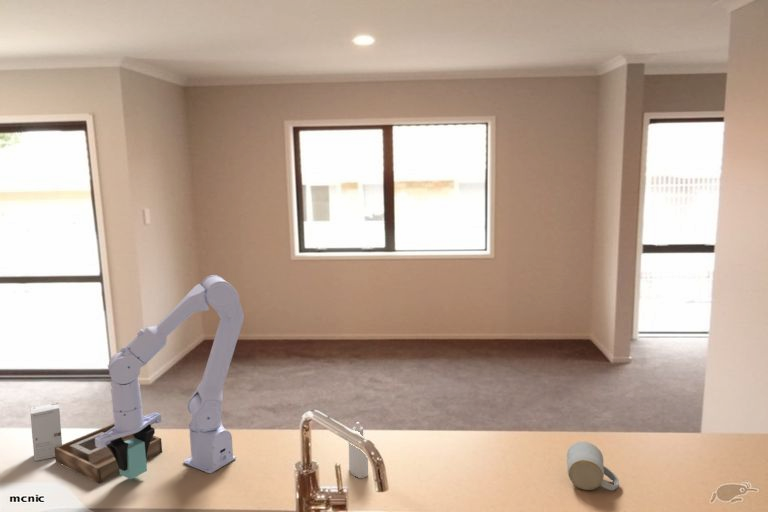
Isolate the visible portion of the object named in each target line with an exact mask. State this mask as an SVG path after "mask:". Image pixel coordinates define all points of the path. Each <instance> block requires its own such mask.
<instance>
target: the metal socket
mask: <svg viewBox="0 0 768 512" xmlns="http://www.w3.org/2000/svg"><path fill="white" fill-rule="evenodd" d="M102 434H104V433H103V432H101V433H99V434H96V435H94V436H91V437H89V438H87V439H84V440H82V441H79V442H77V443H75V444H72V445H70V453H71V454H73V455H75V456H77V457H79V458H81V459H84V460H86V461H88V462H90V463H92V464H96V463H98V462H100V461H103V460H105V459H107V458H109V457H111V456H113V454H112V452H111V451H110V449H109V448H108V447H107V446H106V445H105V447H104V448H102V449H100V448H97V447H96V446H95V438H97V437H99V436H101V435H102Z"/></svg>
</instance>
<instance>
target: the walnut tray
mask: <svg viewBox="0 0 768 512" xmlns="http://www.w3.org/2000/svg"><path fill="white" fill-rule="evenodd" d="M114 426H115V425H114V423H112V424H109V425H106V426H105V427H102V428H99V429H98V430H95V431H92V432H89V433H86V434H85V435H82V436H80V437H78V438H75V439H73V440H70V441H68V442H66V443H64V444H63V443H62V445H60V446H58V447H56V448H54V449H55V463H57V462H58V464H59V463H60V465H61V464H63V465H64V466H63V465H62V466H63V467H65V466H66V468H67V467H68V468H67V469H69V468H70V470H71V469H72V472H73V471H74V472H76V473H78V474H80V475H81V476H83V477H86V478H87V479H90V480H91V481H94V482H95V483H97V484H101V483H103V482H104V481H105V482H106V481H107V480H109V479H110V478H113V477H114V476H117V475H120V471H119V467H118V464H117V461H116V459H115V457H114V455H113V456H111V457H109V458H107V459H105V460H103V461H100V462H98V463H96V464H92V463H90V462H88V461H86V460H84V459H81V458H79V457H77V456H75V455H73V454H71V453H70V445H72V444H75V443H77V442H79V441H82V440H84V439H87V438H89V437H91V436H94V435H96V434H99V433H101V432H103V433H105V432H107V431H108V430H110V429H111V428H113V427H114ZM133 437H134V435H133V434H131V435H127V436H125V437H123V438H122V440H124V442H125V441H127V440H129V439H131V438H133ZM162 442H163V441H162V438H160V437H159V436H156V435H153V437H152V439H151V441H150V444H149V447H148V452H147V457H146V461H147V460H149V459H151V458H153V457H155V456H156V455H160V454H161V453H163V446H162V445H163V443H162Z"/></svg>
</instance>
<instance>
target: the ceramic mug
mask: <svg viewBox="0 0 768 512" xmlns="http://www.w3.org/2000/svg"><path fill="white" fill-rule="evenodd" d="M566 465H567V475H568V477H569V480H570V482H571V483H572V484H573V485H574V486H575V487H576V488H578V489H580V490H583V491H593V490H596V489H597V488H599V487H602V488H603V489H605V490H608V491H612V490H613V491H616V490H617V488H618V487H619V485H620V481H619V478H618V477H617V475H616V474H615V473H614V472H612V470H611V469H609V468H608V467H606V466H604V456H603V453H602V451H601V450H600V448H598V447H597V445H595V444H593V443H590V442H588V441H577V442H575V443H573V444H571V445H570V446H569V448H568V449H567V452H566ZM604 475H605V476H606V477H607V478H608V479H610V480H613V481H612V483H610V482H608V481H607V480H605V479H604V477H605V476H604ZM613 482H614V485H613ZM615 489H616V490H615Z"/></svg>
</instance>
